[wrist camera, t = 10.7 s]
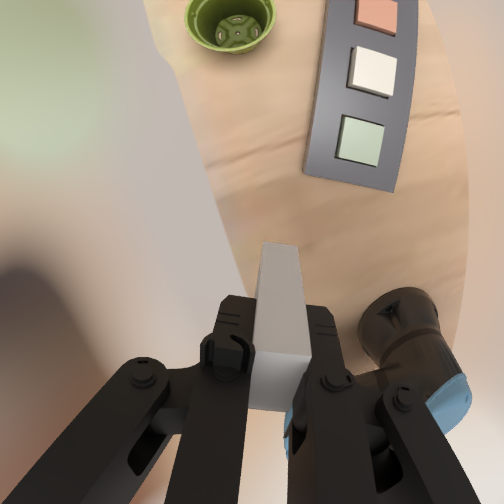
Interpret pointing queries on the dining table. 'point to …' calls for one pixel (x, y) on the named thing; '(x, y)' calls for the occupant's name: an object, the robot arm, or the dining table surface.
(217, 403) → the robot arm
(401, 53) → the keypad
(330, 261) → the dining table surface
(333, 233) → the dining table surface
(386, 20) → the terracotta key
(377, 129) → the sage key
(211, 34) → the plant pot
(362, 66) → the cream key
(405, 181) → the dining table surface
